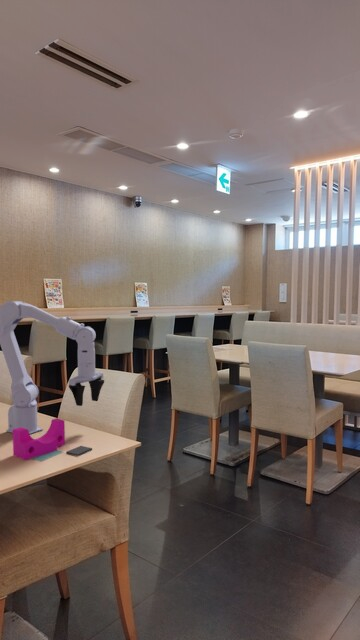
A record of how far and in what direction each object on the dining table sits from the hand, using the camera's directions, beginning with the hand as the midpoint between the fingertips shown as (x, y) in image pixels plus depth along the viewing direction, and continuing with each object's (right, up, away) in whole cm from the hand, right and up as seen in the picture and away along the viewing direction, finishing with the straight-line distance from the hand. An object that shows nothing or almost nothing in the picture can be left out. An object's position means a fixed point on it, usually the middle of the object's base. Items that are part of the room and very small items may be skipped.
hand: (87, 403), depth 155 cm
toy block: (-9, -11, -19) cm, 24 cm away
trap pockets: (-5, -10, -16) cm, 20 cm away
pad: (-8, -11, -22) cm, 26 cm away
